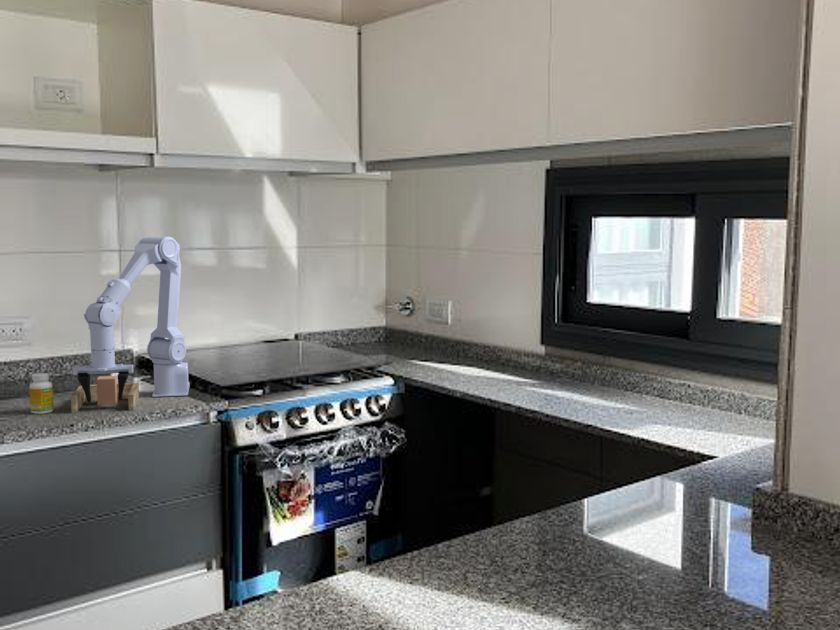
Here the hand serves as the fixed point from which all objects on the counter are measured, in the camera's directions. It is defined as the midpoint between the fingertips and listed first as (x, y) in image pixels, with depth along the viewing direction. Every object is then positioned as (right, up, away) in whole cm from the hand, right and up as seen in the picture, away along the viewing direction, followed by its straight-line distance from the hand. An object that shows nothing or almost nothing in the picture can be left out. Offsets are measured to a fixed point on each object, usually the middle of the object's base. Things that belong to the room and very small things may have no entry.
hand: (104, 401), depth 226 cm
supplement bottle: (-14, -3, -4) cm, 15 cm away
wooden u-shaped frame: (-1, -1, +4) cm, 4 cm away
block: (-1, -1, +6) cm, 6 cm away
